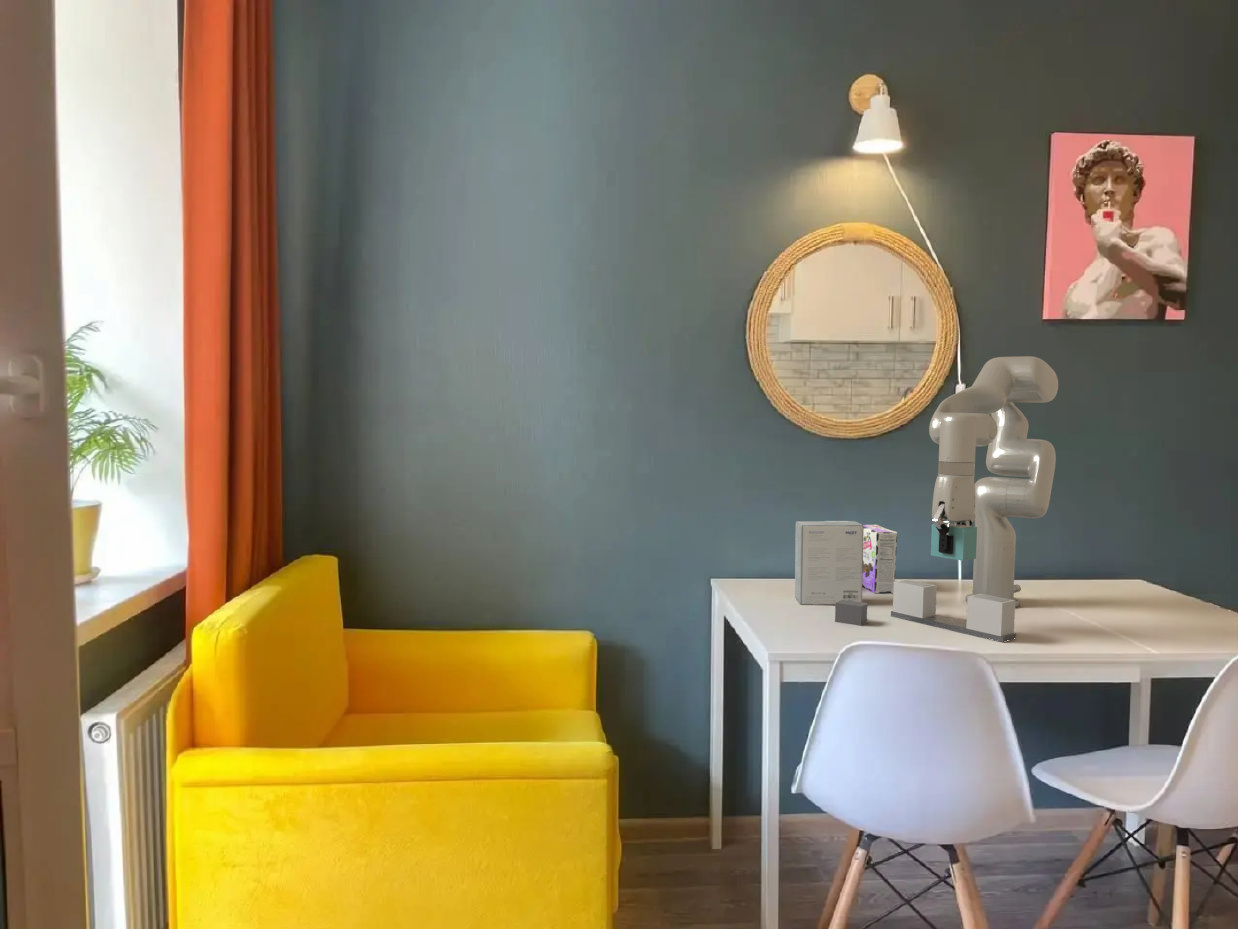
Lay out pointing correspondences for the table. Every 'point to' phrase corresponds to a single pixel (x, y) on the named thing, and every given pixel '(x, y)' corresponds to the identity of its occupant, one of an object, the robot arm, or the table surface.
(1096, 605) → the table surface
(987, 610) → the block
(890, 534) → the candy box
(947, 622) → the rail
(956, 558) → the block
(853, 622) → the dark grey block
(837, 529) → the hard drive box
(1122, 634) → the table surface
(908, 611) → the block
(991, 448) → the robot arm
